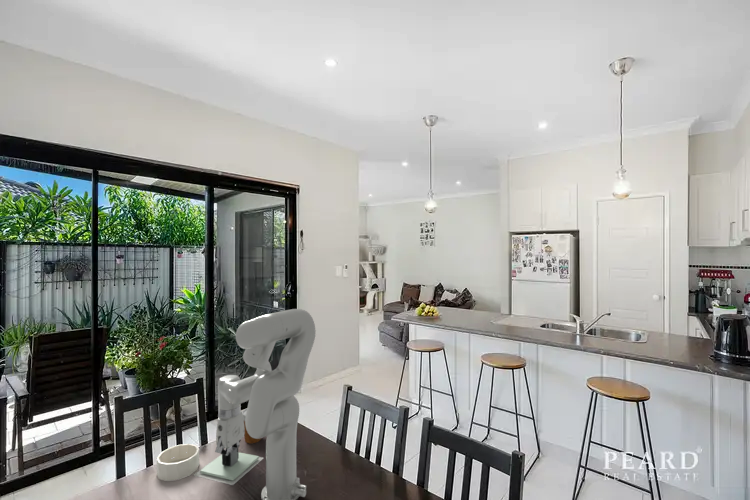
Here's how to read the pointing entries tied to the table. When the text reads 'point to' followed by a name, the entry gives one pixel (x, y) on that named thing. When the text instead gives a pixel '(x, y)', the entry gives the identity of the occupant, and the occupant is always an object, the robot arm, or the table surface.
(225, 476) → the lid
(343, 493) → the table surface
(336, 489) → the table surface
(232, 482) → the mat
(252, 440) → the disposable coffee cup
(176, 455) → the bowl
